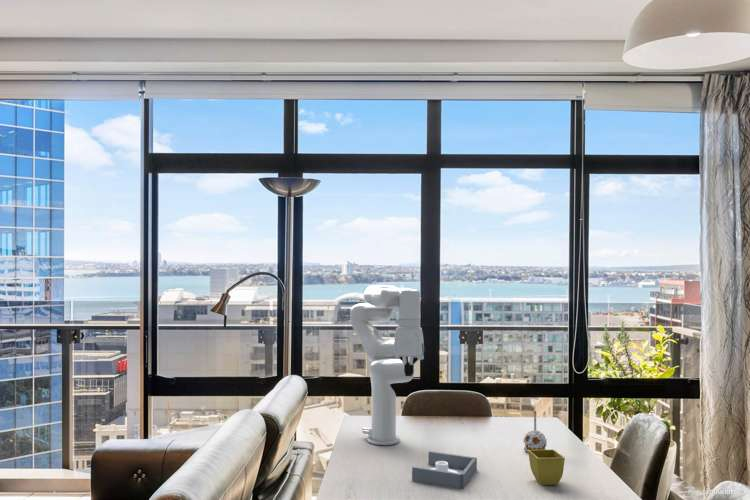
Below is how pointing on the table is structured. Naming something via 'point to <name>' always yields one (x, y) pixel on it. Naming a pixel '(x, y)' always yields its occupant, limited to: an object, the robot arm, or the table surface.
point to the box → (442, 476)
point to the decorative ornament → (534, 439)
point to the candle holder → (443, 467)
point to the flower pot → (546, 466)
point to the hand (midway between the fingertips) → (408, 375)
